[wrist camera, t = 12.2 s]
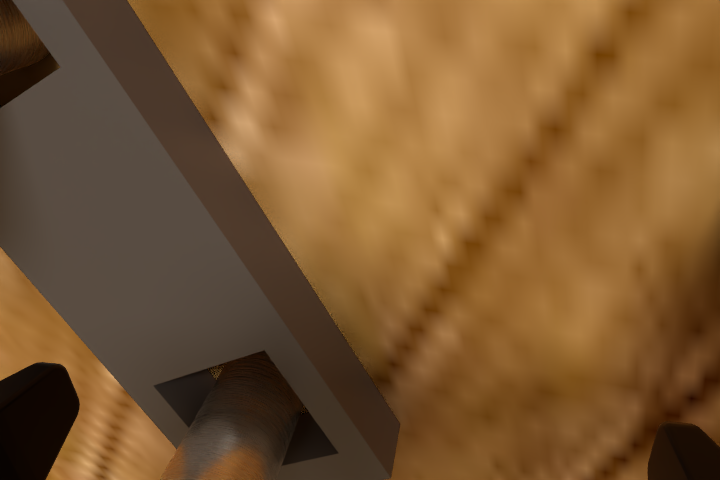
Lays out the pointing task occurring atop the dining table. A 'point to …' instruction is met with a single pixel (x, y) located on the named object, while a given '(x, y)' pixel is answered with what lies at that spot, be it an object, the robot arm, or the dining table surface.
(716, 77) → the dining table surface
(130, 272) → the twin nest fixture
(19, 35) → the billet
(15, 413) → the robot arm
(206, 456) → the cylinder
